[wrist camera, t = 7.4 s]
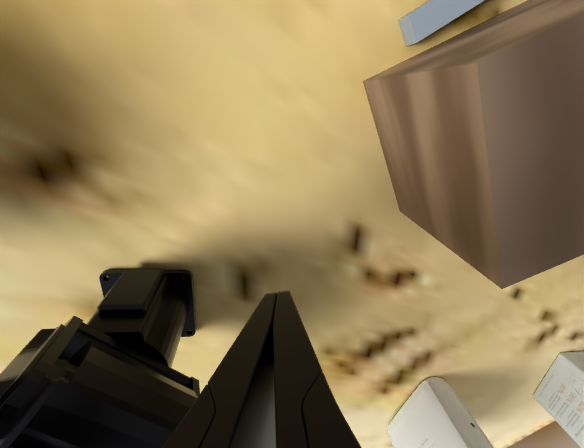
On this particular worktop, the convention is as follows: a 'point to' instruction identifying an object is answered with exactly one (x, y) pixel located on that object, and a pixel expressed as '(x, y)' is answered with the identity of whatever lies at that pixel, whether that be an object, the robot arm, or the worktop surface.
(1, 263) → the worktop surface
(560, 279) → the worktop surface
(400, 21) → the bay rails
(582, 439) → the small box
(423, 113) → the walnut box
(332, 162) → the worktop surface
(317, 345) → the worktop surface
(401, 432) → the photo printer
